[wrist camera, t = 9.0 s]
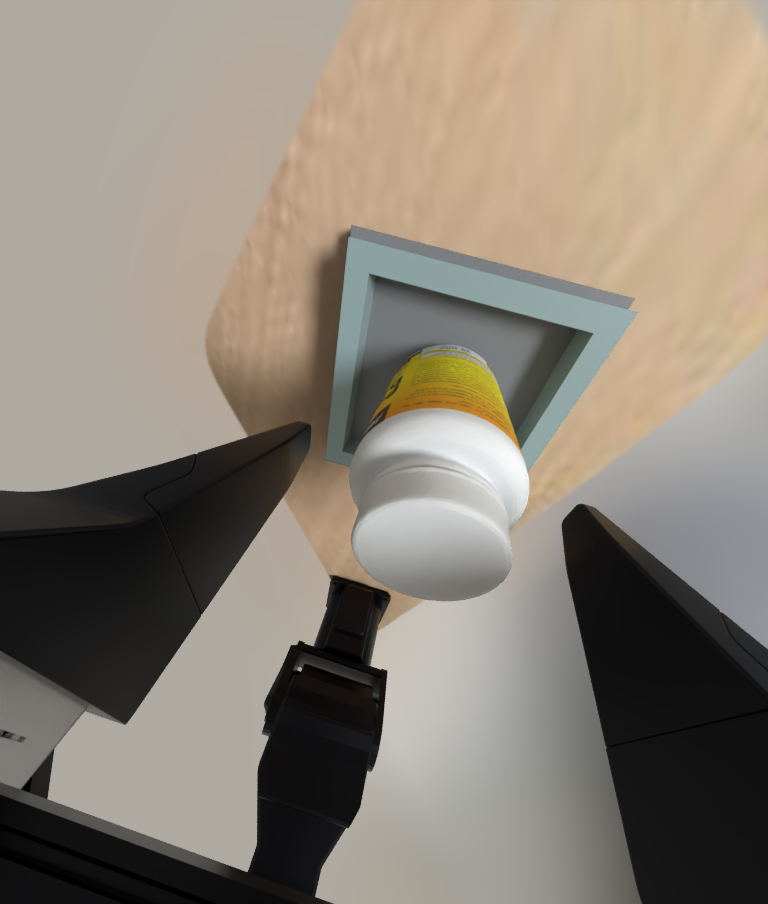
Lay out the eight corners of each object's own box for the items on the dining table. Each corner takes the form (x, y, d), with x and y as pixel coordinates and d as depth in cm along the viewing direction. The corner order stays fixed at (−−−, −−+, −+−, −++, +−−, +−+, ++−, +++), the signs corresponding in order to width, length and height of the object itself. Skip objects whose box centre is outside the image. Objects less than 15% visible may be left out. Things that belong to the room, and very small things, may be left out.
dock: (498, 490, 19) (504, 518, 17) (332, 441, 20) (318, 462, 18) (622, 296, 12) (657, 303, 10) (357, 227, 13) (339, 221, 11)
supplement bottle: (401, 329, 14) (322, 438, 5) (515, 355, 13) (618, 513, 5) (383, 426, 17) (317, 585, 9) (474, 448, 16) (495, 638, 8)
